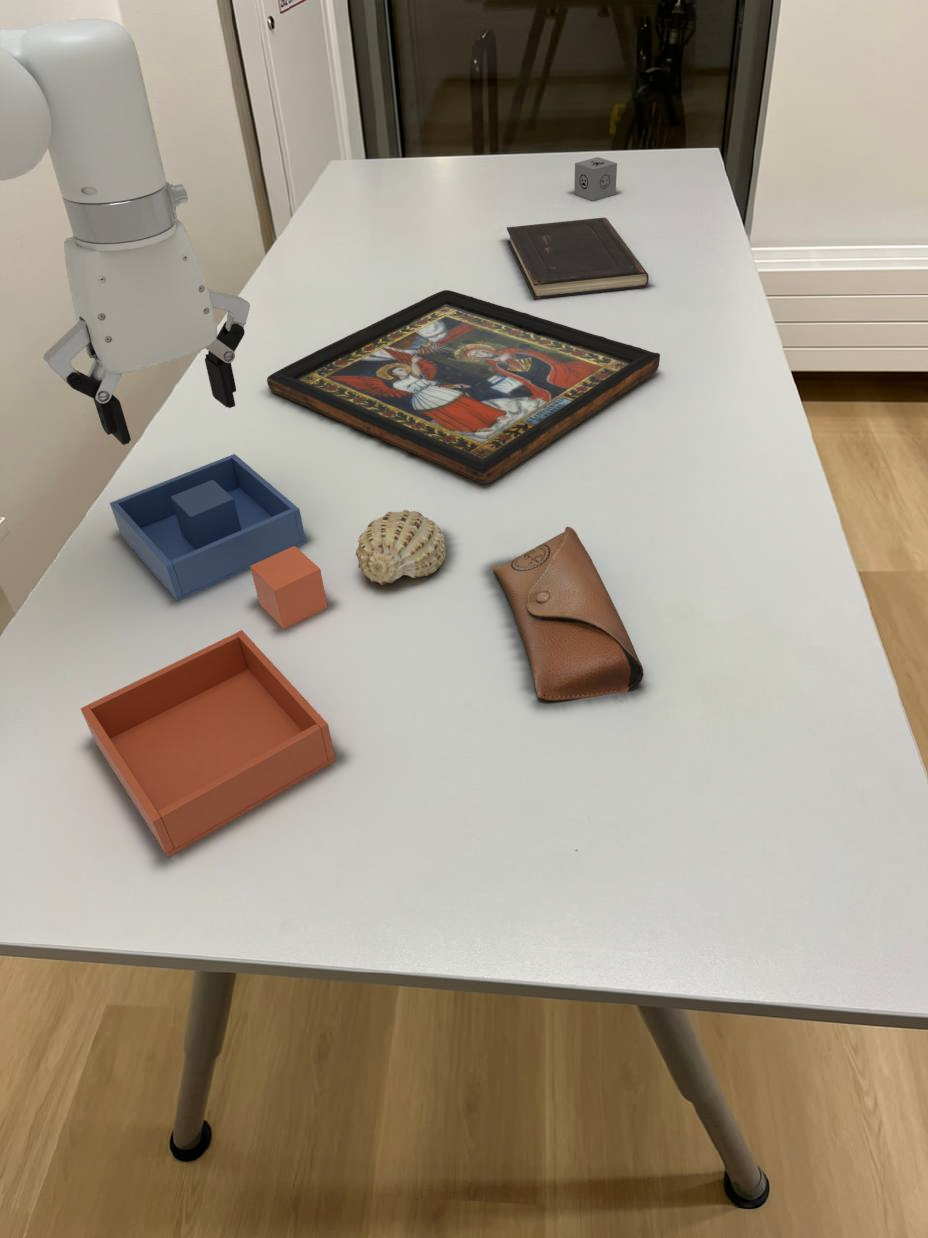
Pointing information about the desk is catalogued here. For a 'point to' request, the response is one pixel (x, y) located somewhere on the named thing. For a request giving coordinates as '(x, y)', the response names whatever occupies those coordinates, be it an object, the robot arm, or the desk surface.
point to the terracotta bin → (208, 739)
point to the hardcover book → (574, 258)
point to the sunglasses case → (569, 622)
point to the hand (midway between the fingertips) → (174, 419)
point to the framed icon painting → (465, 381)
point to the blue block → (205, 514)
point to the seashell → (400, 547)
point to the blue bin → (188, 570)
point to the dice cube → (595, 178)
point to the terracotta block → (289, 587)
